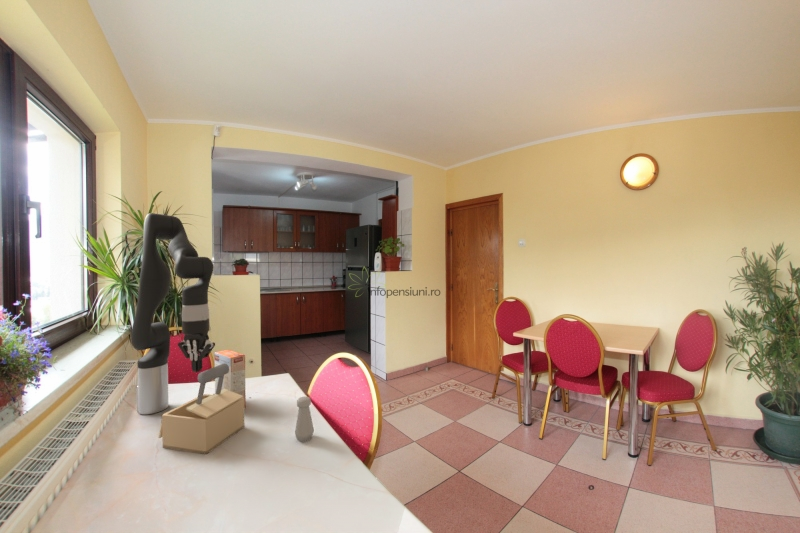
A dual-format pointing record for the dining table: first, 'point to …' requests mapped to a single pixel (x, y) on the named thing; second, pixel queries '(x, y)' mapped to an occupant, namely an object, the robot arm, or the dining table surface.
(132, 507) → the dining table surface
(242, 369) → the cracker box
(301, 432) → the salt shaker
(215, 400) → the door with pull handle
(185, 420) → the tan open box
